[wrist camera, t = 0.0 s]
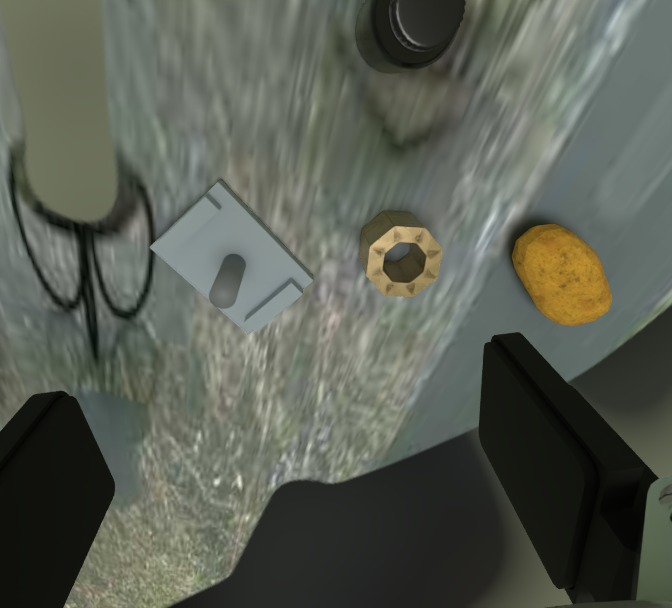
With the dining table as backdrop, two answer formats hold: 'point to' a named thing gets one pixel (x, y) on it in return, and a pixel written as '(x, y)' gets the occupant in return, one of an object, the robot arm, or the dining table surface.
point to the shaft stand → (233, 259)
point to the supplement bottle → (406, 32)
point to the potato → (562, 275)
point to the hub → (413, 267)
